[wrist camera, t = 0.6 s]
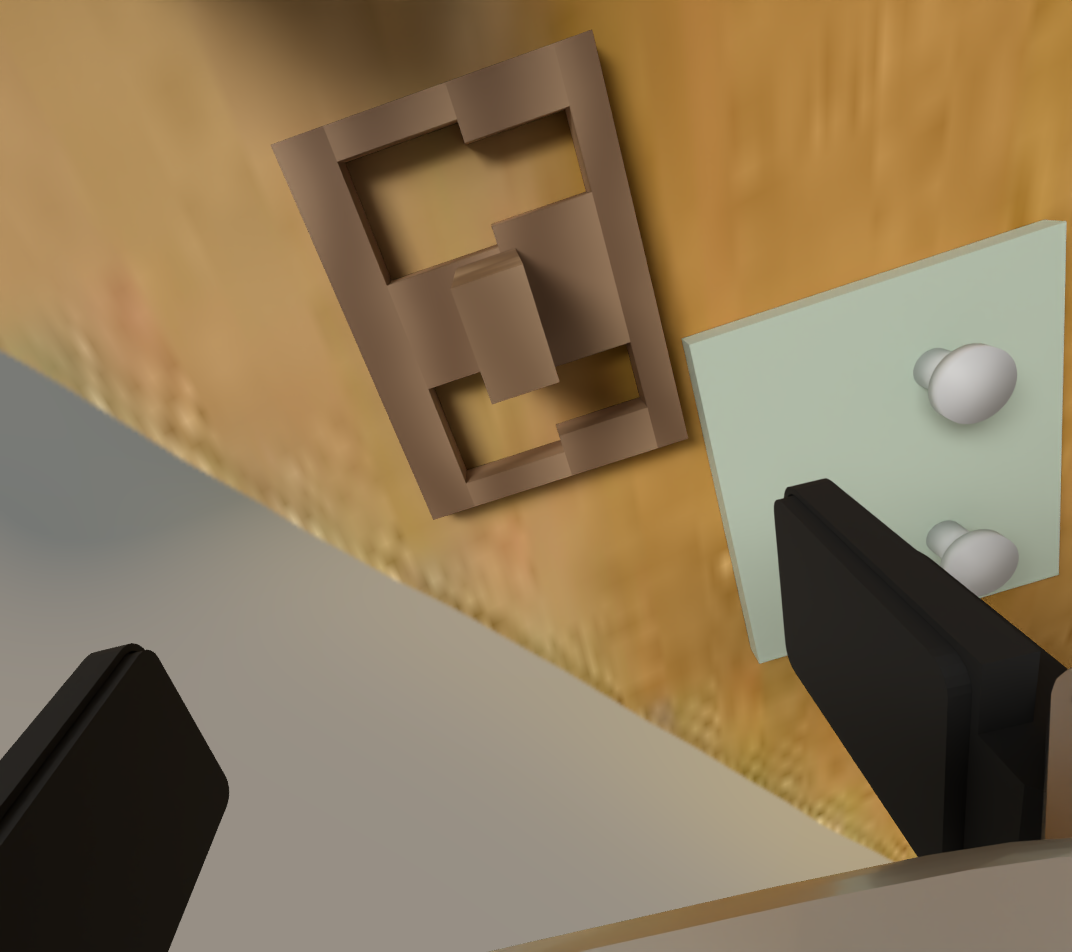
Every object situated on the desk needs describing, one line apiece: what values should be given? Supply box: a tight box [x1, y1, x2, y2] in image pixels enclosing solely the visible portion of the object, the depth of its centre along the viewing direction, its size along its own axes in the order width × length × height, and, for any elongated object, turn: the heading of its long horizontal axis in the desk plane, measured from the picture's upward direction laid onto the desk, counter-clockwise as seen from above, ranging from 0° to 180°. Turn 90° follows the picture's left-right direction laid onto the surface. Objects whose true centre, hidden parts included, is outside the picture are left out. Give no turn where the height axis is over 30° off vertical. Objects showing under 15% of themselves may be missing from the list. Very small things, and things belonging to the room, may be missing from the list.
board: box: [682, 220, 1066, 664], centre depth 31 cm, size 16×18×4 cm
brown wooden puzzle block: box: [271, 30, 688, 520], centre depth 25 cm, size 12×16×7 cm
